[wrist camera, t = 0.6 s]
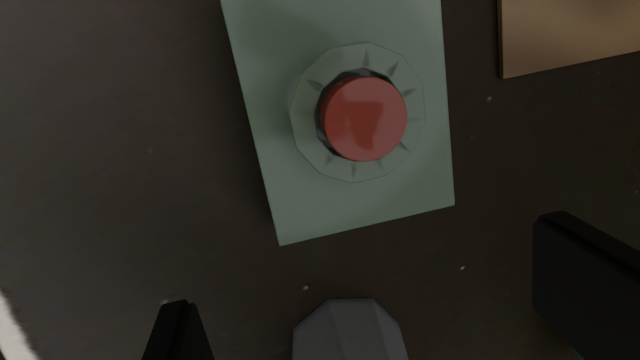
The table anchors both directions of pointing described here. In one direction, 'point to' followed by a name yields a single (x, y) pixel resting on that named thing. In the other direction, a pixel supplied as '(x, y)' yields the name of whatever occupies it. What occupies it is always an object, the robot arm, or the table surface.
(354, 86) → the red push button
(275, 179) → the button block
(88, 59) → the table surface
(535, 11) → the coaster
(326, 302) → the coffee maker
